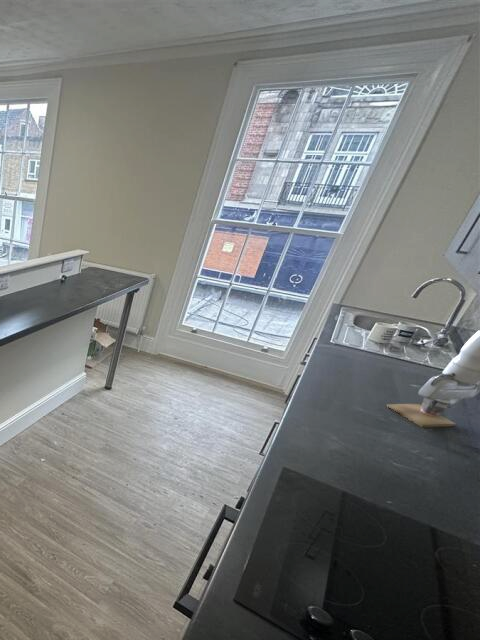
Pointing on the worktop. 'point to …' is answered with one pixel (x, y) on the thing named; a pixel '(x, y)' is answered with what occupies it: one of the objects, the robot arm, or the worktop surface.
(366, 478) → the worktop surface
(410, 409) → the board
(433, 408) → the pill bottle
